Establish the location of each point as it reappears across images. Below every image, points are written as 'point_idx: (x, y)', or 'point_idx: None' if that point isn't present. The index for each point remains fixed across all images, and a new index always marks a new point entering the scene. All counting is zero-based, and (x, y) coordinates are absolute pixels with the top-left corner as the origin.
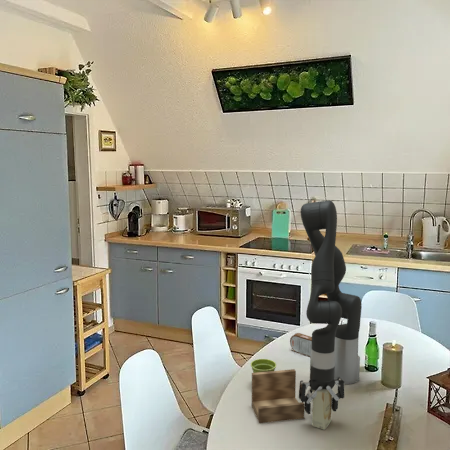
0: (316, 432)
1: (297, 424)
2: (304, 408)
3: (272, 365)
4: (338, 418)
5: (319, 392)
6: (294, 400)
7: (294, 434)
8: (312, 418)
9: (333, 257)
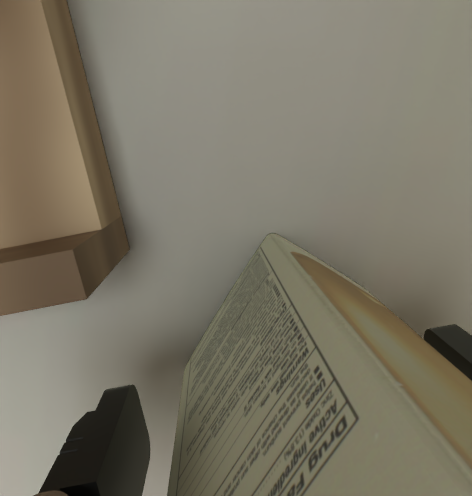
0: None
1: (61, 341)
2: (72, 430)
3: None
4: (444, 245)
5: None
6: (5, 11)
7: (29, 470)
8: (180, 409)
9: None
